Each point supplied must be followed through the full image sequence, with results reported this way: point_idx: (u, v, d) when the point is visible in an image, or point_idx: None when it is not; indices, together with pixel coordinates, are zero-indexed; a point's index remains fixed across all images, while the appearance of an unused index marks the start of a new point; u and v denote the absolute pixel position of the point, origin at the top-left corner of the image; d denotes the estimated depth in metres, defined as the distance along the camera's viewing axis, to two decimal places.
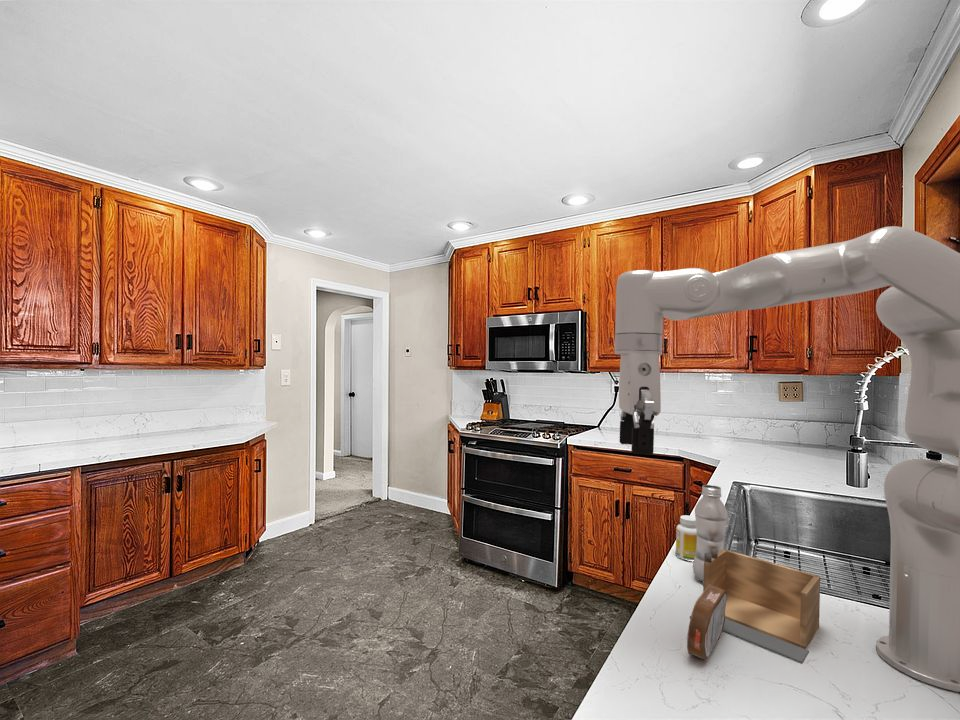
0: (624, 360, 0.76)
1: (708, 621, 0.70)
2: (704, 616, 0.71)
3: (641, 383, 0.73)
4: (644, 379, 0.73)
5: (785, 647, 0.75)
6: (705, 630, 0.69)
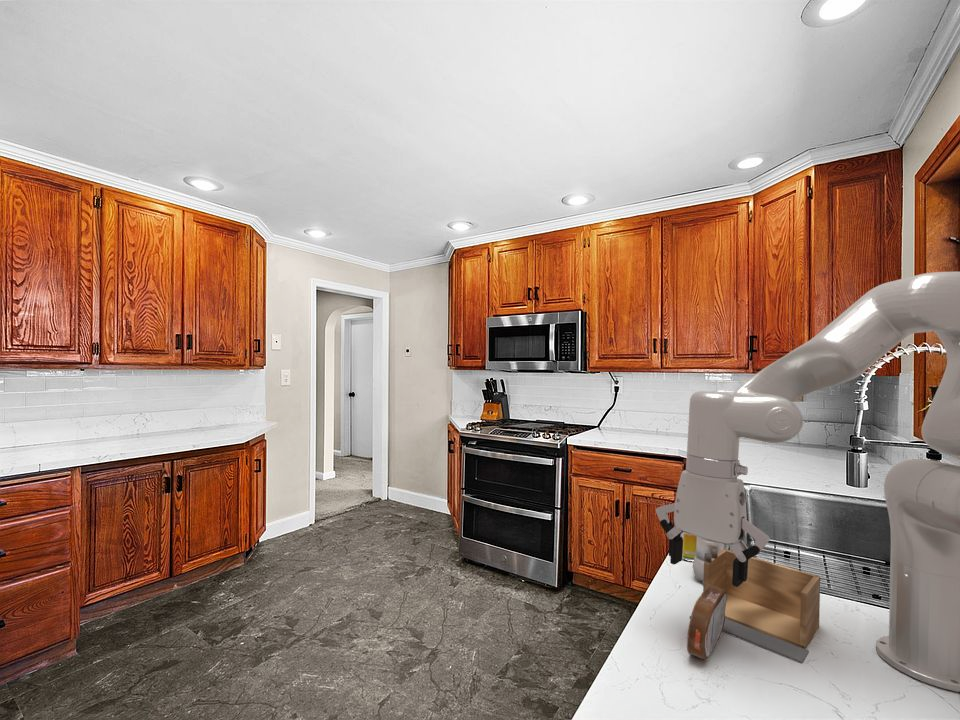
0: (714, 487, 0.73)
1: (708, 621, 0.70)
2: (704, 616, 0.71)
3: (741, 513, 0.72)
4: (742, 509, 0.72)
5: (785, 647, 0.75)
6: (705, 630, 0.69)
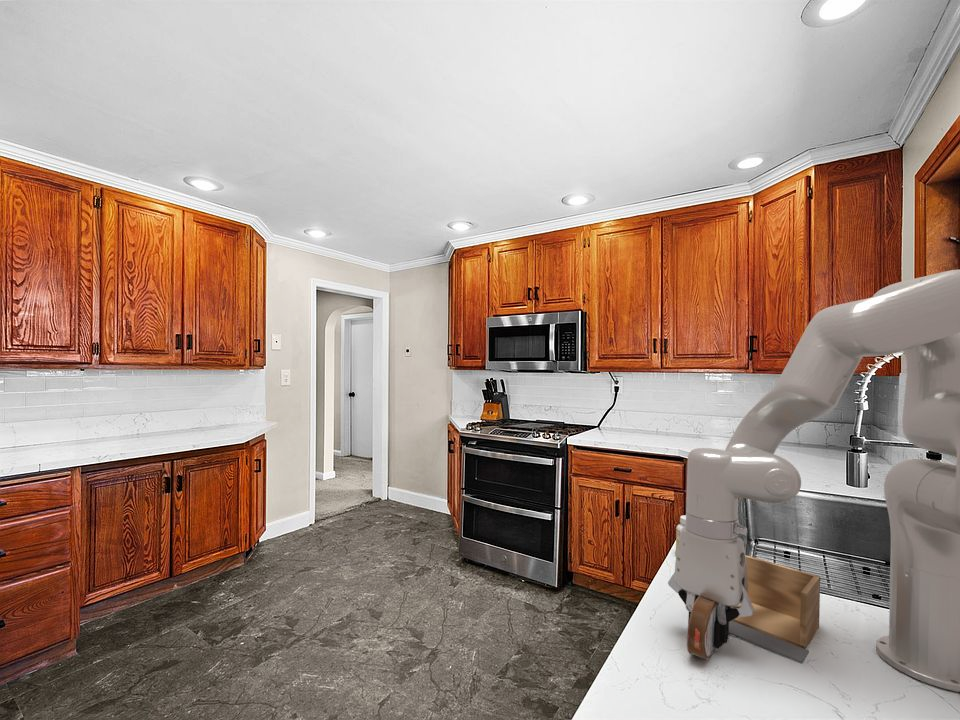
0: (714, 547, 0.73)
1: (707, 620, 0.70)
2: (703, 615, 0.71)
3: (742, 574, 0.72)
4: (743, 570, 0.72)
5: (785, 647, 0.75)
6: (704, 629, 0.69)
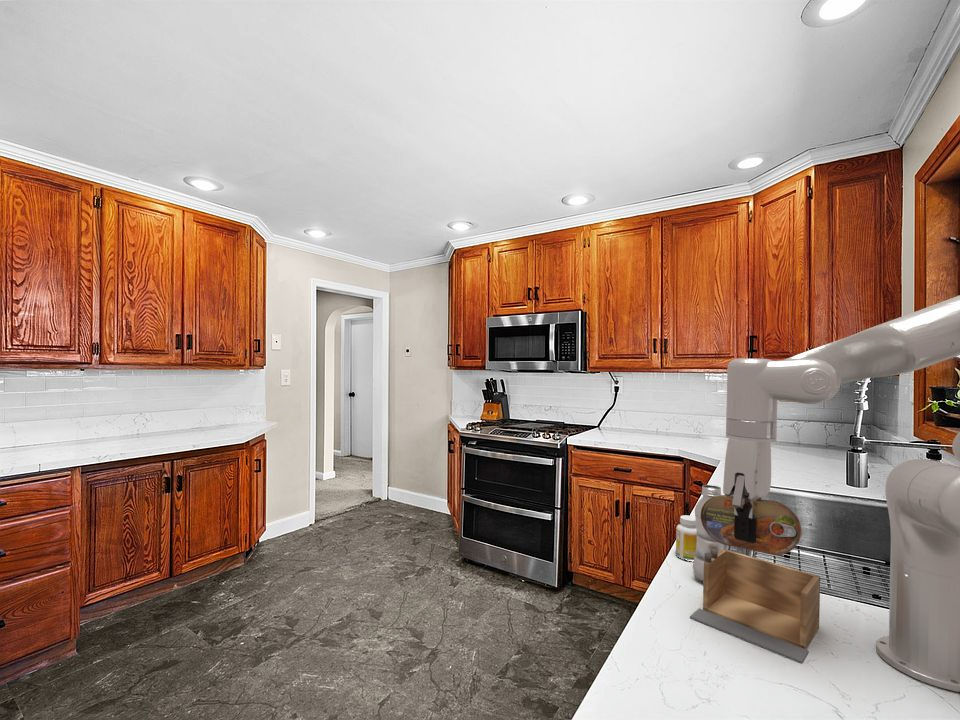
0: (769, 446, 0.79)
1: (791, 510, 0.76)
2: (788, 508, 0.76)
3: None
4: None
5: (785, 647, 0.75)
6: (797, 518, 0.75)
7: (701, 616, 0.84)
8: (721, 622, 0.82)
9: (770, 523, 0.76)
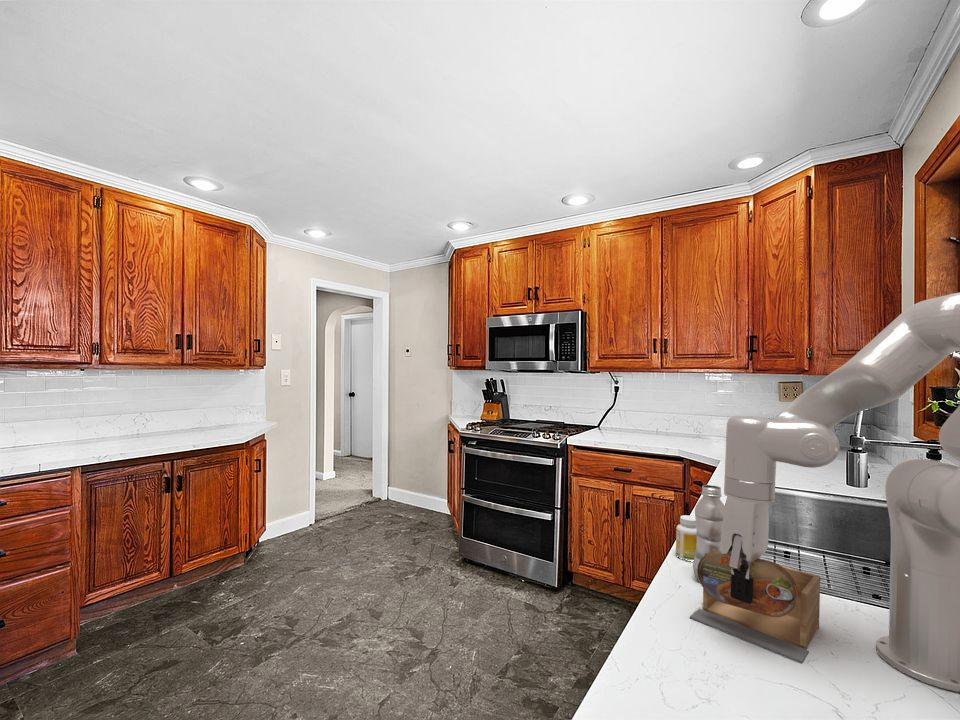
0: (767, 505, 0.79)
1: None
2: (785, 570, 0.76)
3: None
4: None
5: (785, 647, 0.75)
6: (794, 581, 0.75)
7: (701, 616, 0.84)
8: (721, 622, 0.82)
9: (766, 584, 0.76)
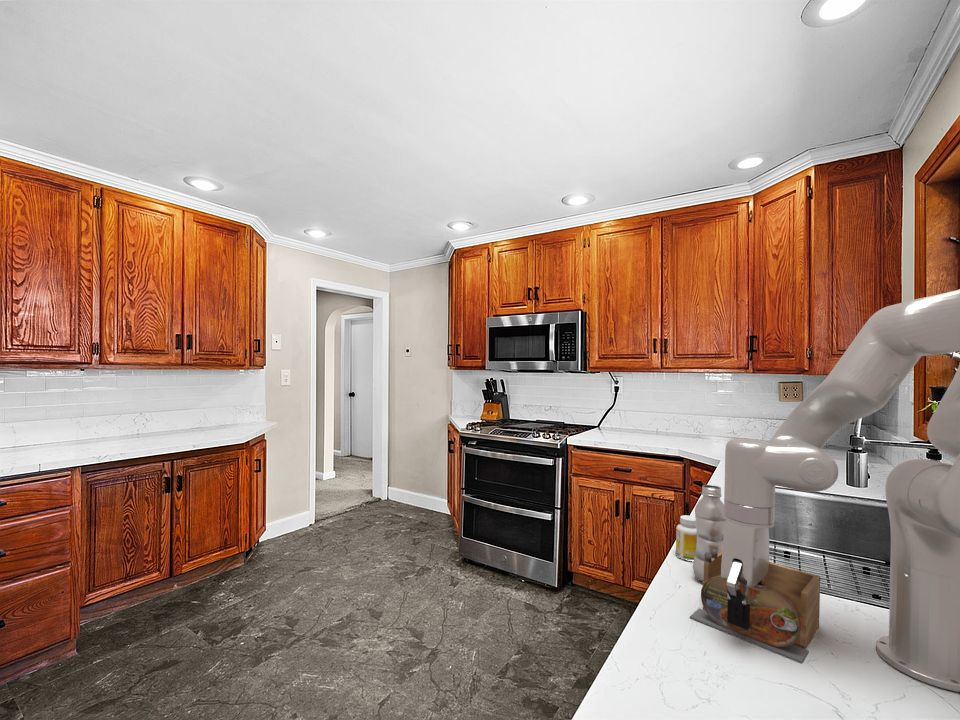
0: (767, 529, 0.79)
1: None
2: (791, 601, 0.76)
3: None
4: None
5: (785, 647, 0.75)
6: (799, 612, 0.75)
7: (701, 616, 0.84)
8: None
9: (771, 613, 0.76)
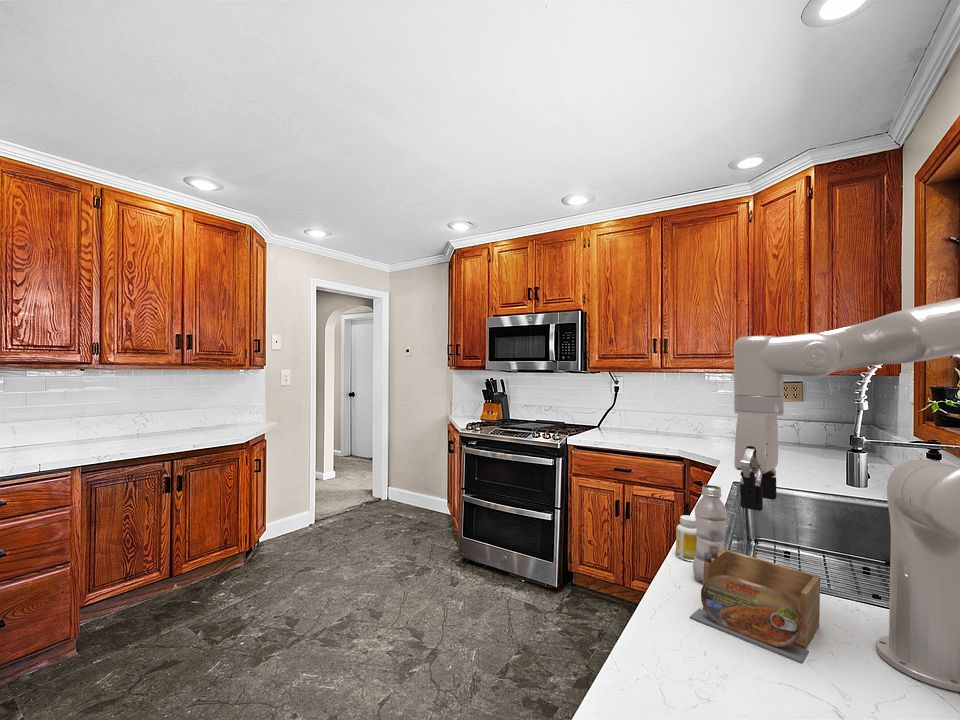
0: (776, 420, 0.82)
1: None
2: (791, 601, 0.76)
3: None
4: None
5: (785, 647, 0.75)
6: (799, 612, 0.75)
7: (701, 616, 0.84)
8: None
9: (771, 613, 0.76)
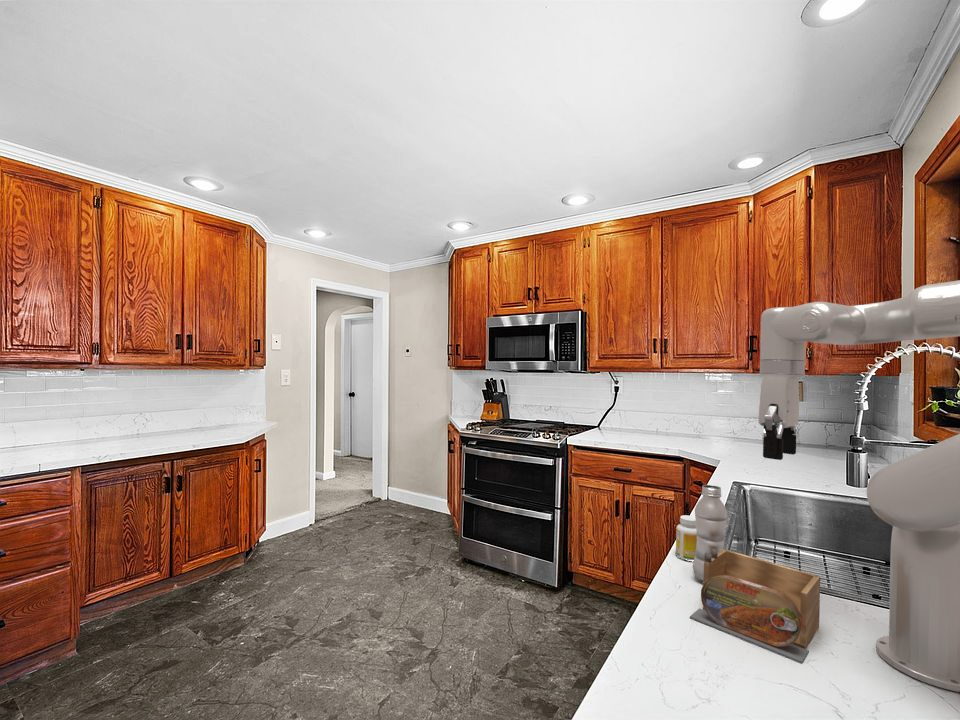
0: (797, 383, 0.92)
1: None
2: (791, 601, 0.76)
3: None
4: None
5: (785, 647, 0.75)
6: (799, 612, 0.75)
7: (701, 616, 0.84)
8: None
9: (771, 613, 0.76)
